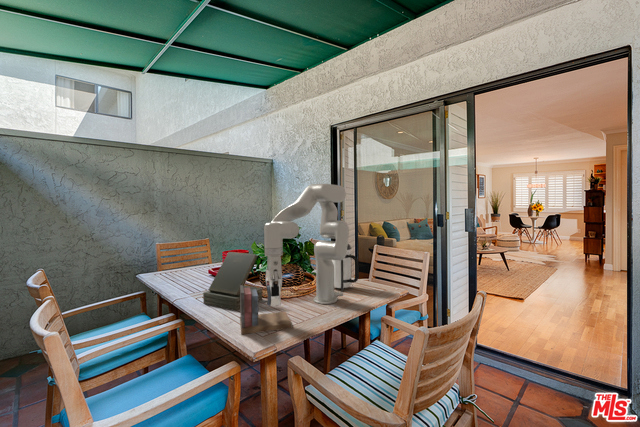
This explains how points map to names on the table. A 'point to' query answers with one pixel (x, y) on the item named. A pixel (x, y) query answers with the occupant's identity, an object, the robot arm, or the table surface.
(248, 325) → the bookend with books
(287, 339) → the table surface
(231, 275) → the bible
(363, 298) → the table surface
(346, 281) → the coffee press
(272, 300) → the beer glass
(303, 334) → the table surface
